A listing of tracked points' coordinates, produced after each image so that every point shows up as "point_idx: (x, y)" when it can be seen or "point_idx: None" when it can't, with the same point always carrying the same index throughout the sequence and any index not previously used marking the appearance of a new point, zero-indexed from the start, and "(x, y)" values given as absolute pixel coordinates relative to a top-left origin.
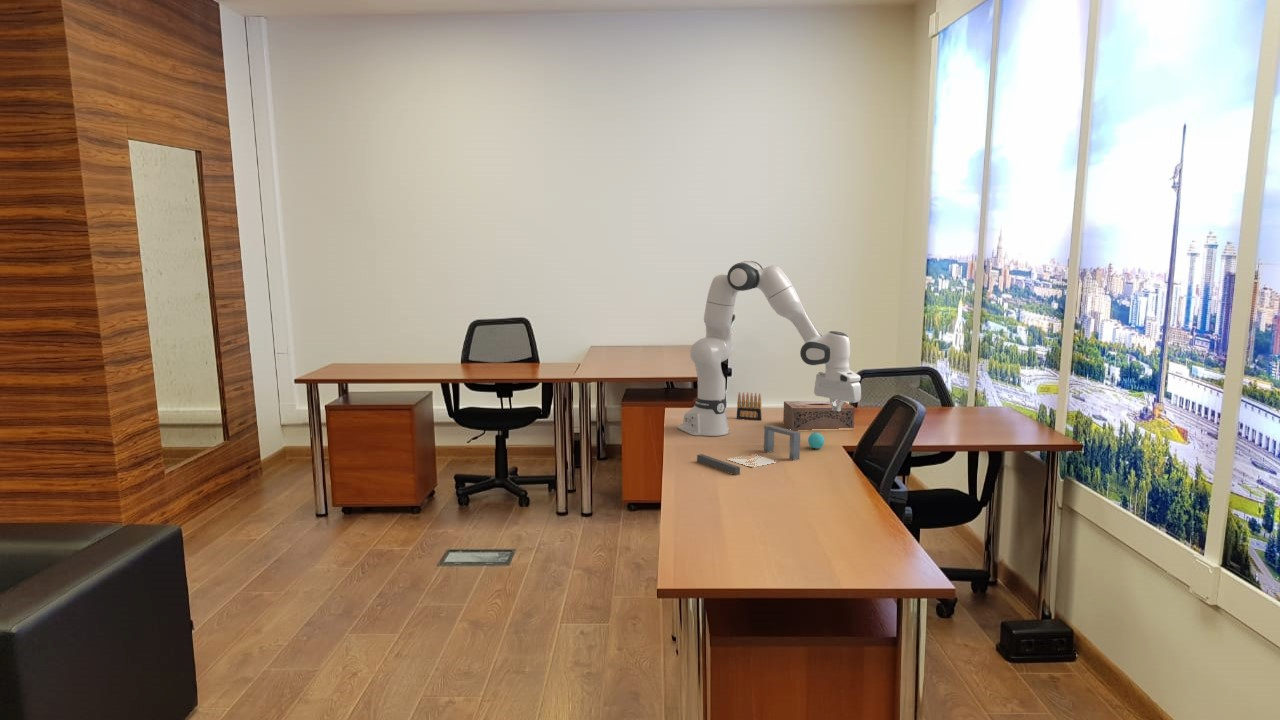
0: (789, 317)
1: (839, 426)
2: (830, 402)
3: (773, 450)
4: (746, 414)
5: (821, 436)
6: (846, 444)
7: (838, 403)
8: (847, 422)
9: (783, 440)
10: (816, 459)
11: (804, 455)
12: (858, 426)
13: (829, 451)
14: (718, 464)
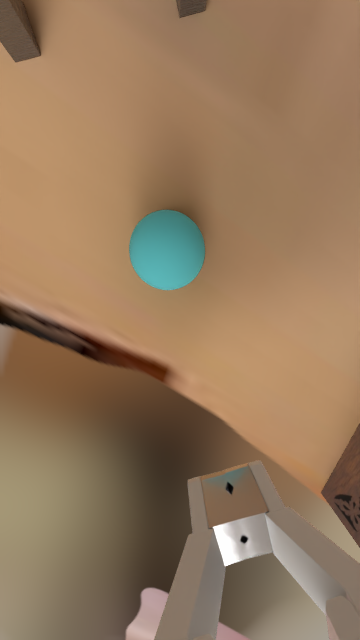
0: None
1: (353, 471)
2: (343, 552)
3: (179, 8)
4: None
5: (139, 262)
6: (185, 391)
7: (183, 612)
8: (353, 507)
9: (327, 202)
10: (3, 150)
11: (79, 137)
12: None
13: (114, 282)
14: None
